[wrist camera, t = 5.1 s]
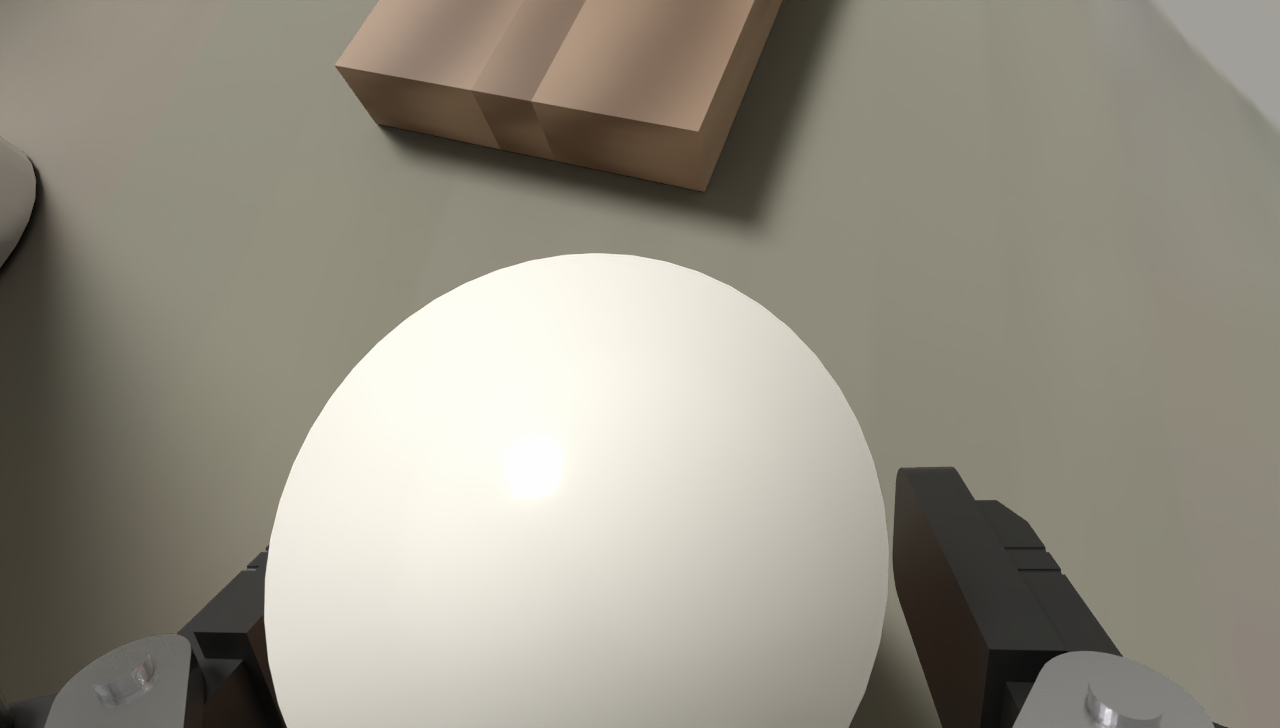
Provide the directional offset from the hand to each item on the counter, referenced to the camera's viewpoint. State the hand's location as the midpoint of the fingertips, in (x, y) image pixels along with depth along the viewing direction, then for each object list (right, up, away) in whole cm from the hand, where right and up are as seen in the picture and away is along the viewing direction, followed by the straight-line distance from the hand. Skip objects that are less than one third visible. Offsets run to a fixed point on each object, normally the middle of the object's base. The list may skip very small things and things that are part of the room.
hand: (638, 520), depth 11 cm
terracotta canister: (+1, -3, +4) cm, 5 cm away
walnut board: (-1, +15, +12) cm, 19 cm away
